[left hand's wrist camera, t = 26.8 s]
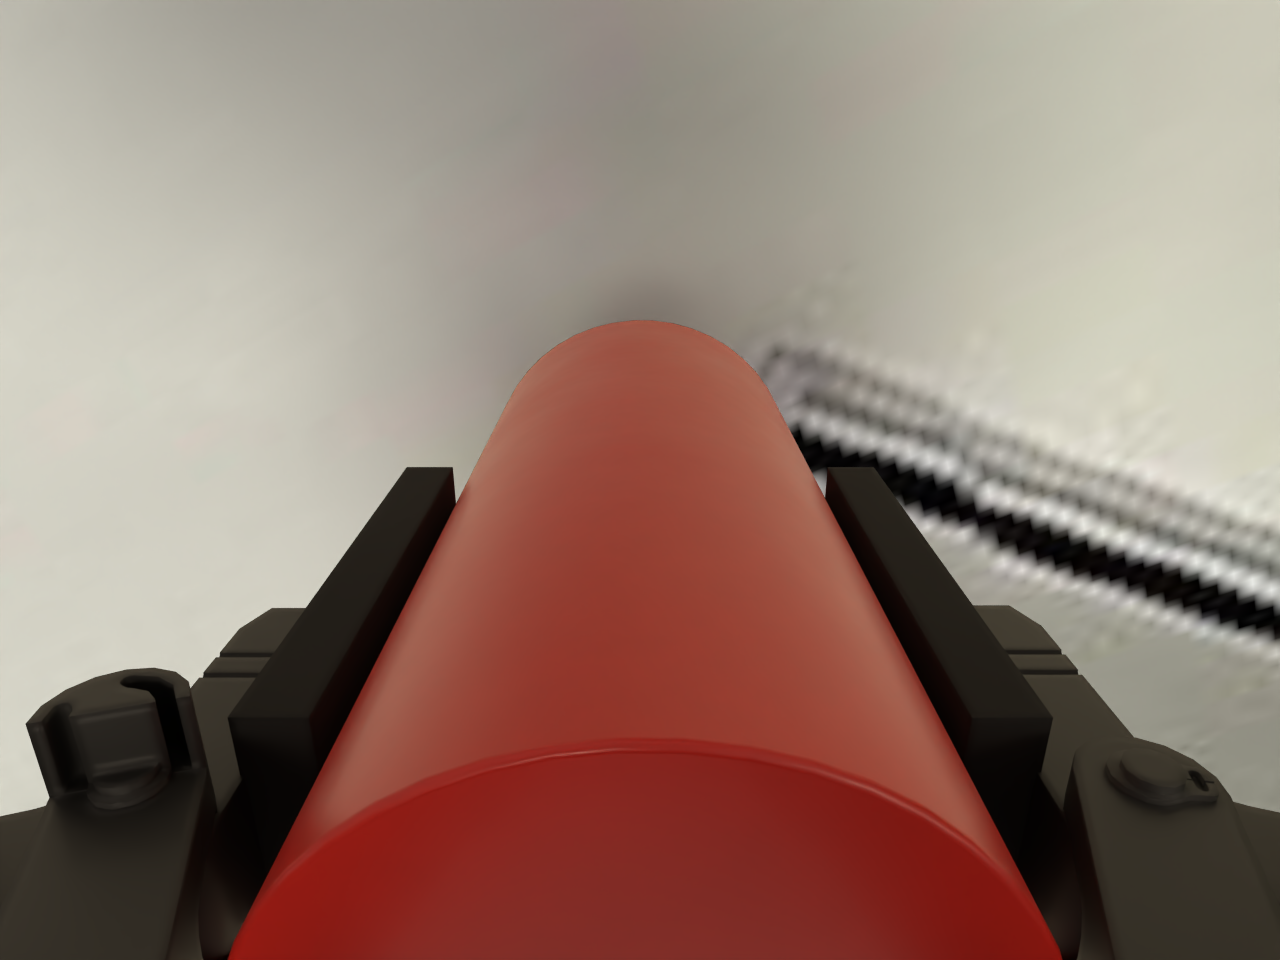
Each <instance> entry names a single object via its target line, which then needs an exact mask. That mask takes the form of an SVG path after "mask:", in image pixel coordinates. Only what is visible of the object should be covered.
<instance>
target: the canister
mask: <svg viewBox="0 0 1280 960" xmlns="http://www.w3.org/2000/svg"><path fill="white" fill-rule="evenodd" d="M228 960H1063V959H1062V956H1061V953H1060V949H1059V947H1058V945H1057V943H1056V941H1055V939H1054V937H1053V935H1052V933H1051V931H1050V929H1049V927H1048V926H1047V924H1046V922H1045V920H1044V918H1043V916H1042V914H1041V912H1040V910H1039V908H1038V906H1037V904H1036V903H1035V901H1034V899H1033V897H1032V895H1031V893H1030V891H1029V889H1028V887H1027V885H1026V883H1025V881H1024V879H1023V878H1022V876H1021V874H1020V872H1019V870H1018V868H1017V866H1016V864H1015V862H1014V860H1013V858H1012V856H1011V855H1010V853H1009V851H1008V849H1007V847H1006V845H1005V843H1004V841H1003V839H1002V837H1001V835H1000V833H999V831H998V830H997V828H996V826H995V824H994V822H993V820H992V818H991V816H990V814H989V812H988V810H987V808H986V807H985V805H984V803H983V801H982V799H981V797H980V795H979V793H978V791H977V789H976V787H975V785H974V783H973V782H972V780H971V778H970V776H969V774H968V772H967V770H966V768H965V766H964V764H963V762H962V760H961V759H960V757H959V755H958V753H957V751H956V749H955V747H954V745H953V743H952V741H951V739H950V737H949V735H948V734H947V732H946V730H945V728H944V726H943V724H942V722H941V720H940V718H939V716H938V714H937V712H936V711H935V709H934V707H933V705H932V703H931V701H930V699H929V697H928V695H927V693H926V691H925V689H924V687H923V686H922V684H921V682H920V680H919V678H918V676H917V674H916V672H915V670H914V668H913V666H912V664H911V662H910V661H909V659H908V657H907V655H906V653H905V651H904V649H903V647H902V645H901V643H900V641H899V639H898V638H897V636H896V634H895V632H894V630H893V628H892V626H891V624H890V622H889V620H888V618H887V616H886V614H885V613H884V611H883V609H882V607H881V605H880V603H879V601H878V599H877V597H876V595H875V593H874V591H873V590H872V588H871V586H870V584H869V582H868V580H867V578H866V576H865V574H864V572H863V570H862V568H861V566H860V565H859V563H858V561H857V559H856V557H855V555H854V553H853V551H852V549H851V547H850V545H849V543H848V542H847V540H846V538H845V536H844V534H843V532H842V530H841V528H840V526H839V524H838V522H837V520H836V518H835V517H834V515H833V513H832V511H831V509H830V507H829V505H828V503H827V501H826V499H825V497H824V495H823V494H822V492H821V490H820V488H819V486H818V484H817V482H816V480H815V478H814V476H813V474H812V472H811V470H810V469H809V467H808V465H807V463H806V461H805V459H804V457H803V455H802V453H801V451H800V449H799V447H798V446H797V444H796V442H795V440H794V438H793V436H792V434H791V432H790V430H789V428H788V426H787V424H786V422H785V421H784V419H783V417H782V415H781V413H780V411H779V409H778V407H777V405H776V403H775V401H774V399H773V398H772V396H771V394H770V392H769V390H768V388H767V387H766V385H765V384H764V383H763V381H762V380H761V378H760V377H759V376H758V374H757V373H756V372H755V371H754V370H753V369H752V368H751V367H750V365H749V364H748V363H747V362H746V361H745V360H744V359H743V358H741V357H740V356H739V355H738V354H736V353H735V352H734V351H733V350H731V349H730V348H729V347H728V346H726V345H724V344H723V343H721V342H719V341H717V340H716V339H714V338H712V337H711V336H708V335H706V334H704V333H701V332H699V331H697V330H694V329H692V328H688V327H684V326H681V325H677V324H674V323H667V322H660V321H646V320H632V321H624V322H615V323H610V324H606V325H602V326H599V327H595V328H592V329H589V330H587V331H584V332H582V333H579V334H577V335H574V336H573V337H571V338H569V339H567V340H566V341H564V342H562V343H560V344H559V345H557V346H556V347H554V348H553V349H552V350H550V351H549V352H548V353H547V354H545V355H544V356H543V357H541V358H540V359H539V360H538V361H537V362H536V363H535V364H534V365H533V366H532V367H531V368H530V369H529V371H528V372H527V373H526V374H525V376H524V377H523V378H522V380H521V381H520V382H519V384H518V385H517V387H516V388H515V390H514V392H513V394H512V396H511V397H510V399H509V401H508V403H507V405H506V407H505V409H504V411H503V413H502V415H501V417H500V419H499V421H498V423H497V425H496V426H495V428H494V430H493V432H492V434H491V436H490V438H489V440H488V442H487V444H486V446H485V448H484V450H483V452H482V454H481V456H480V458H479V460H478V462H477V464H476V466H475V468H474V470H473V472H472V474H471V476H470V478H469V480H468V482H467V484H466V486H465V488H464V489H463V491H462V493H461V495H460V497H459V499H458V501H457V503H456V505H455V507H454V509H453V511H452V513H451V515H450V517H449V519H448V521H447V523H446V525H445V527H444V529H443V531H442V533H441V535H440V537H439V539H438V541H437V543H436V545H435V547H434V549H433V550H432V552H431V554H430V556H429V558H428V560H427V562H426V564H425V566H424V568H423V570H422V572H421V574H420V576H419V578H418V580H417V582H416V584H415V586H414V588H413V590H412V592H411V594H410V596H409V598H408V600H407V602H406V604H405V606H404V608H403V610H402V611H401V613H400V615H399V617H398V619H397V621H396V623H395V625H394V627H393V629H392V631H391V633H390V635H389V637H388V639H387V641H386V643H385V645H384V647H383V649H382V651H381V653H380V655H379V657H378V659H377V661H376V663H375V665H374V667H373V669H372V671H371V672H370V674H369V676H368V678H367V680H366V682H365V684H364V686H363V688H362V690H361V692H360V694H359V696H358V698H357V700H356V702H355V704H354V706H353V708H352V710H351V712H350V714H349V716H348V718H347V720H346V722H345V724H344V726H343V728H342V730H341V732H340V733H339V735H338V737H337V739H336V741H335V743H334V745H333V747H332V749H331V751H330V753H329V755H328V757H327V759H326V761H325V763H324V765H323V767H322V769H321V771H320V773H319V775H318V777H317V779H316V781H315V783H314V785H313V787H312V789H311V791H310V793H309V794H308V796H307V798H306V800H305V802H304V804H303V806H302V808H301V810H300V812H299V814H298V816H297V818H296V820H295V822H294V824H293V826H292V828H291V830H290V832H289V834H288V836H287V838H286V840H285V842H284V844H283V846H282V848H281V850H280V852H279V854H278V856H277V857H276V859H275V861H274V863H273V865H272V867H271V869H270V871H269V873H268V875H267V877H266V879H265V881H264V883H263V885H262V887H261V889H260V891H259V893H258V895H257V897H256V899H255V901H254V903H253V905H252V907H251V909H250V911H249V913H248V915H247V917H246V918H245V920H244V922H243V924H242V926H241V928H240V930H239V932H238V934H237V936H236V938H235V940H234V942H233V945H232V948H231V951H230V954H229V957H228Z"/></svg>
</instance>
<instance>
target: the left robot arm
mask: <svg viewBox="0 0 1280 960" xmlns="http://www.w3.org/2000/svg"><path fill="white" fill-rule="evenodd" d="M825 499H826V501H827V503H828V505H829V507H830V509H831V511H832V513H833V515H834V517H835V518H836V520H837V522H838V524H839V526H840V528H841V530H842V532H843V534H844V536H845V538H846V540H847V542H848V543H849V545H850V547H851V549H852V551H853V553H854V555H855V557H856V559H857V561H858V563H859V565H860V566H861V568H862V570H863V572H864V574H865V576H866V578H867V580H868V582H869V584H870V586H871V588H872V590H873V591H874V593H875V595H876V597H877V599H878V601H879V603H880V605H881V607H882V609H883V611H884V613H885V614H886V616H887V618H888V620H889V622H890V624H891V626H892V628H893V630H894V632H895V634H896V636H897V638H898V639H899V641H900V643H901V645H902V647H903V649H904V651H905V653H906V655H907V657H908V659H909V661H910V662H911V664H912V666H913V668H914V670H915V672H916V674H917V676H918V678H919V680H920V682H921V684H922V686H923V687H924V689H925V691H926V693H927V695H928V697H929V699H930V701H931V703H932V705H933V707H934V709H935V711H936V712H937V714H938V716H939V718H940V720H941V722H942V724H943V726H944V728H945V730H946V732H947V734H948V735H949V737H950V739H951V741H952V743H953V745H954V747H955V749H956V751H957V753H958V755H959V757H960V759H961V760H962V762H963V764H964V766H965V768H966V770H967V772H968V774H969V776H970V778H971V780H972V782H973V783H974V785H975V787H976V789H977V791H978V793H979V795H980V797H981V799H982V801H983V803H984V805H985V807H986V808H987V810H988V812H989V814H990V816H991V818H992V820H993V822H994V824H995V826H996V828H997V830H998V831H999V833H1000V835H1001V837H1002V839H1003V841H1004V843H1005V845H1006V847H1007V849H1008V851H1009V853H1010V855H1011V856H1012V858H1013V860H1014V862H1015V864H1016V866H1017V868H1018V870H1019V872H1020V874H1021V876H1022V878H1023V879H1024V881H1025V883H1026V885H1027V887H1028V889H1029V891H1030V893H1031V895H1032V897H1033V899H1034V901H1035V903H1036V904H1037V906H1038V908H1039V910H1040V912H1041V914H1042V916H1043V918H1044V920H1045V922H1046V924H1047V926H1048V927H1049V929H1050V931H1051V933H1052V935H1053V937H1054V939H1055V941H1056V943H1057V945H1058V947H1059V949H1060V953H1061V956H1062V959H1063V960H1280V813H1279V812H1274V811H1269V810H1265V809H1260V808H1255V807H1251V806H1247V805H1243V804H1239V803H1236V802H1233V801H1232V799H1231V796H1230V795H1229V794H1228V792H1227V791H1226V790H1225V788H1224V787H1223V786H1222V784H1221V783H1220V781H1219V780H1218V779H1217V777H1215V776H1214V775H1213V774H1211V773H1210V772H1209V771H1207V770H1206V769H1205V768H1204V767H1202V766H1201V765H1200V764H1198V763H1197V762H1196V761H1194V760H1193V759H1191V758H1189V757H1187V756H1185V755H1183V754H1181V753H1179V752H1177V751H1174V750H1172V749H1170V748H1168V747H1166V746H1164V745H1160V744H1156V743H1153V742H1149V741H1146V740H1142V739H1139V738H1134V737H1133V736H1132V734H1131V733H1130V732H1129V731H1128V730H1127V728H1126V727H1125V726H1124V725H1123V724H1122V722H1121V721H1120V720H1119V719H1118V718H1117V716H1116V715H1115V714H1114V713H1113V712H1112V710H1111V709H1110V708H1109V707H1108V706H1107V704H1106V703H1105V702H1104V701H1103V699H1102V698H1101V697H1100V696H1099V695H1098V693H1097V692H1096V691H1095V690H1094V689H1093V687H1092V686H1091V685H1090V684H1089V683H1088V681H1087V680H1086V679H1085V678H1084V677H1083V675H1078V669H1077V668H1076V667H1075V666H1074V665H1073V663H1072V662H1071V661H1070V660H1069V659H1068V657H1067V656H1066V655H1062V654H1061V649H1060V648H1059V646H1058V645H1057V644H1056V643H1055V642H1054V640H1053V639H1052V638H1051V637H1050V636H1049V634H1048V633H1047V632H1046V631H1045V630H1044V628H1043V627H1042V626H1041V625H1039V624H1038V623H1036V622H1034V621H1033V620H1031V619H1030V618H1028V617H1026V616H1025V615H1023V614H1022V613H1020V612H1019V611H1017V610H1015V609H1014V608H1012V607H1011V606H973V605H972V604H971V602H970V601H969V599H968V598H967V597H966V595H965V594H964V592H963V591H962V590H961V588H960V587H959V586H958V584H957V583H956V581H955V580H954V579H953V577H952V576H951V574H950V573H949V572H948V570H947V569H946V567H945V566H944V565H943V563H942V562H941V560H940V559H939V558H938V556H937V555H936V553H935V552H934V551H933V549H932V548H931V547H930V545H929V544H928V542H927V541H926V540H925V538H924V537H923V535H922V534H921V533H920V531H919V530H918V528H917V527H916V526H915V524H914V523H913V521H912V520H911V519H910V517H909V516H908V514H907V513H906V512H905V510H904V509H903V508H902V506H901V505H900V503H899V502H898V501H897V499H896V498H895V496H894V495H893V494H892V492H891V491H890V489H889V488H888V487H887V485H886V484H885V482H884V481H883V480H882V478H881V477H880V475H879V474H878V473H877V471H876V470H875V469H874V467H828V472H827V483H826V494H825ZM455 505H456V500H455V488H454V477H453V467H407V468H406V469H405V471H404V472H403V473H402V475H401V476H400V478H399V479H398V480H397V482H396V483H395V485H394V486H393V487H392V489H391V490H390V492H389V493H388V494H387V496H386V497H385V499H384V500H383V501H382V503H381V504H380V506H379V507H378V508H377V510H376V511H375V512H374V514H373V515H372V517H371V518H370V519H369V521H368V522H367V524H366V525H365V526H364V528H363V529H362V531H361V532H360V533H359V535H358V536H357V538H356V539H355V540H354V542H353V543H352V545H351V546H350V547H349V549H348V550H347V551H346V553H345V554H344V556H343V557H342V558H341V560H340V561H339V563H338V564H337V565H336V567H335V568H334V570H333V571H332V572H331V574H330V575H329V577H328V578H327V579H326V581H325V582H324V584H323V585H322V586H321V588H320V589H319V591H318V592H317V593H316V595H315V596H314V597H313V599H312V600H311V602H310V603H309V604H308V606H307V607H306V608H271V609H270V610H268V611H267V612H265V613H264V614H262V615H260V616H259V617H257V618H256V619H254V620H253V621H251V622H249V623H248V624H246V625H245V626H243V627H242V628H240V629H239V630H238V631H237V633H236V634H235V635H234V636H233V637H232V639H231V640H230V641H229V642H228V643H227V645H226V646H225V647H224V648H223V650H222V651H221V652H220V657H216V658H215V659H214V660H213V662H212V663H211V664H210V665H209V667H208V668H207V669H206V670H205V671H204V675H203V678H199V679H198V680H197V681H196V682H195V684H194V685H193V686H192V687H191V688H190V686H189V682H188V681H187V680H186V679H184V678H183V677H182V676H181V675H179V674H178V673H177V672H174V671H168V670H163V669H158V668H143V669H128V670H123V671H119V672H115V673H111V674H107V675H102V676H98V677H95V678H93V679H90V680H88V681H85V682H83V683H81V684H78V685H76V686H74V687H71V688H69V689H67V690H65V691H63V692H62V693H60V694H59V695H57V696H56V697H54V698H53V699H51V700H50V701H48V702H47V703H45V704H44V705H42V706H41V707H40V708H39V709H38V710H37V711H36V713H35V714H34V715H33V716H32V717H31V718H30V719H29V721H28V722H27V723H26V727H27V730H28V733H29V736H30V739H31V742H32V745H33V748H34V751H35V754H36V757H37V760H38V764H39V767H40V770H41V773H42V776H43V779H44V782H45V785H46V788H47V791H48V794H49V797H50V798H49V800H48V802H47V805H46V806H44V807H40V808H37V809H33V810H28V811H24V812H19V813H14V814H10V815H5V816H0V960H228V957H229V954H230V951H231V948H232V945H233V942H234V940H235V938H236V936H237V934H238V932H239V930H240V928H241V926H242V924H243V922H244V920H245V918H246V917H247V915H248V913H249V911H250V909H251V907H252V905H253V903H254V901H255V899H256V897H257V895H258V893H259V891H260V889H261V887H262V885H263V883H264V881H265V879H266V877H267V875H268V873H269V871H270V869H271V867H272V865H273V863H274V861H275V859H276V857H277V856H278V854H279V852H280V850H281V848H282V846H283V844H284V842H285V840H286V838H287V836H288V834H289V832H290V830H291V828H292V826H293V824H294V822H295V820H296V818H297V816H298V814H299V812H300V810H301V808H302V806H303V804H304V802H305V800H306V798H307V796H308V794H309V793H310V791H311V789H312V787H313V785H314V783H315V781H316V779H317V777H318V775H319V773H320V771H321V769H322V767H323V765H324V763H325V761H326V759H327V757H328V755H329V753H330V751H331V749H332V747H333V745H334V743H335V741H336V739H337V737H338V735H339V733H340V732H341V730H342V728H343V726H344V724H345V722H346V720H347V718H348V716H349V714H350V712H351V710H352V708H353V706H354V704H355V702H356V700H357V698H358V696H359V694H360V692H361V690H362V688H363V686H364V684H365V682H366V680H367V678H368V676H369V674H370V672H371V671H372V669H373V667H374V665H375V663H376V661H377V659H378V657H379V655H380V653H381V651H382V649H383V647H384V645H385V643H386V641H387V639H388V637H389V635H390V633H391V631H392V629H393V627H394V625H395V623H396V621H397V619H398V617H399V615H400V613H401V611H402V610H403V608H404V606H405V604H406V602H407V600H408V598H409V596H410V594H411V592H412V590H413V588H414V586H415V584H416V582H417V580H418V578H419V576H420V574H421V572H422V570H423V568H424V566H425V564H426V562H427V560H428V558H429V556H430V554H431V552H432V550H433V549H434V547H435V545H436V543H437V541H438V539H439V537H440V535H441V533H442V531H443V529H444V527H445V525H446V523H447V521H448V519H449V517H450V515H451V513H452V511H453V509H454V507H455Z"/></svg>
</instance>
